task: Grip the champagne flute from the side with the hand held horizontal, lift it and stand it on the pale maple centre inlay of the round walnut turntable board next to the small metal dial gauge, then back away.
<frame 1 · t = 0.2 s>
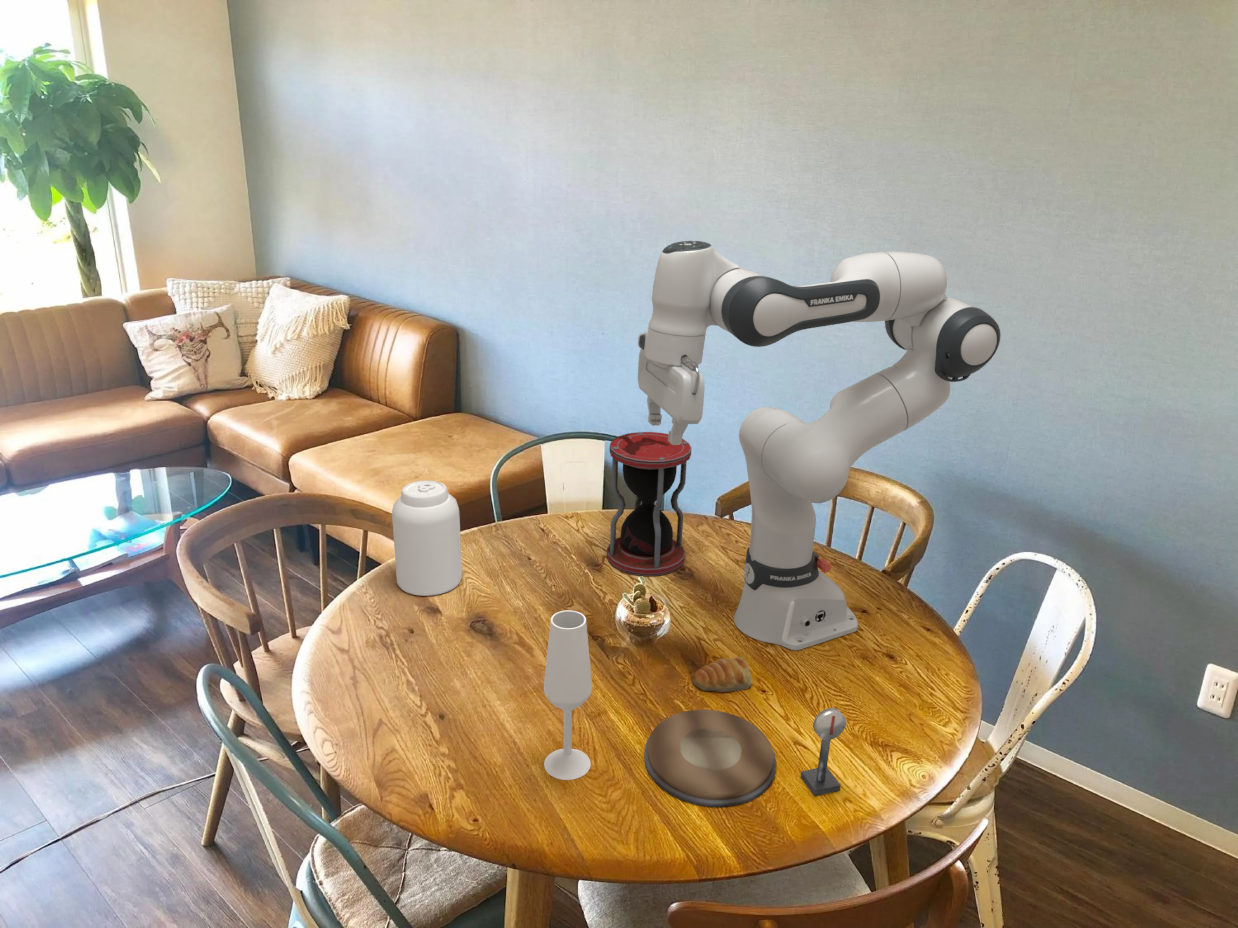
hand: (663, 433, 146), 39 cm above the table, tool pointing down, fingers open, 8 cm apart
dial gauge: (820, 783, 130), on the table
turntable: (709, 759, 134), on the table
champagne flute: (567, 764, 132), on the table
pastry: (724, 683, 151), on the table
hourglass: (645, 558, 191), on the table
can: (429, 582, 179), on the table
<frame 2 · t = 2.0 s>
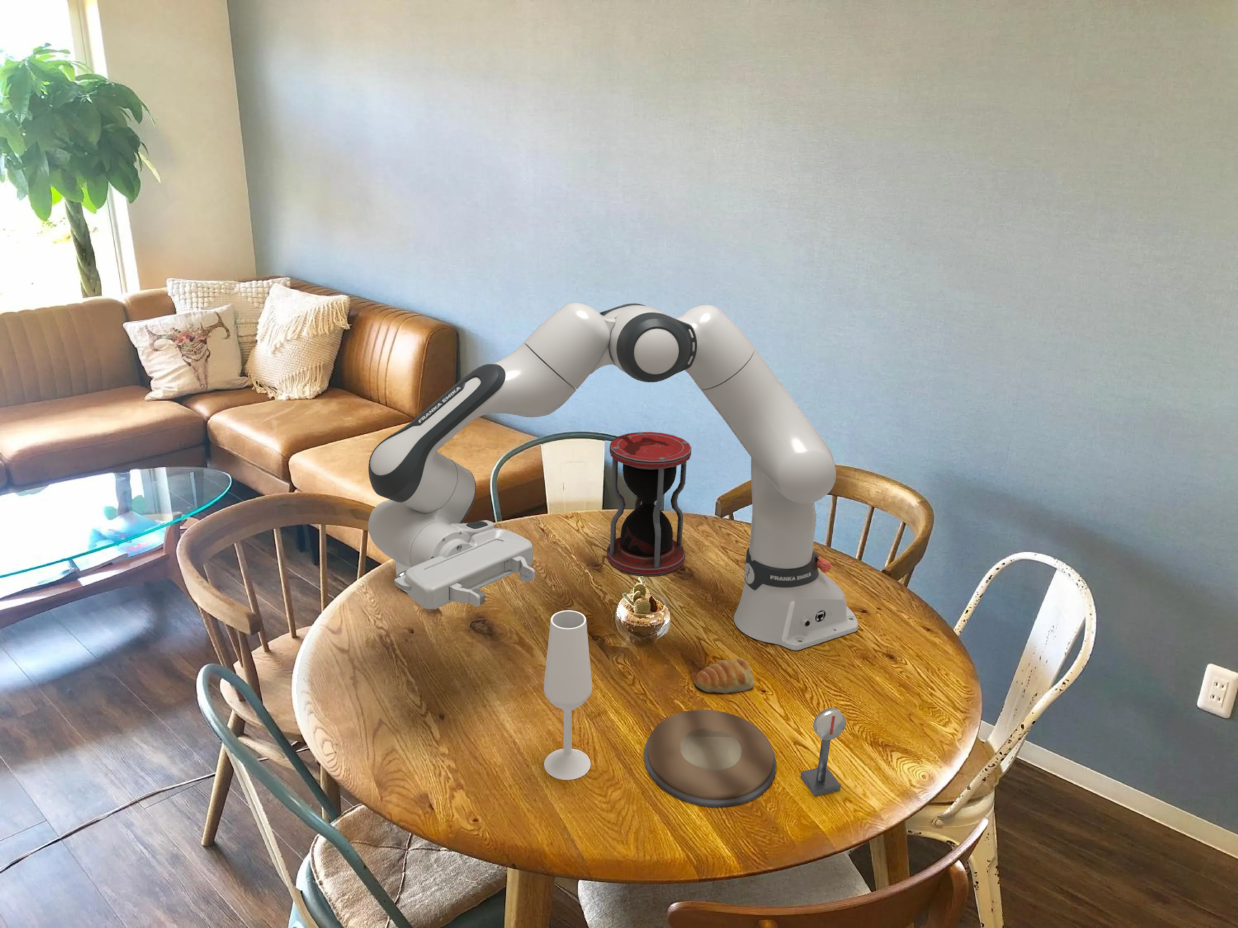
hand: (507, 588, 130), 24 cm above the table, tool horizontal, fingers open, 8 cm apart
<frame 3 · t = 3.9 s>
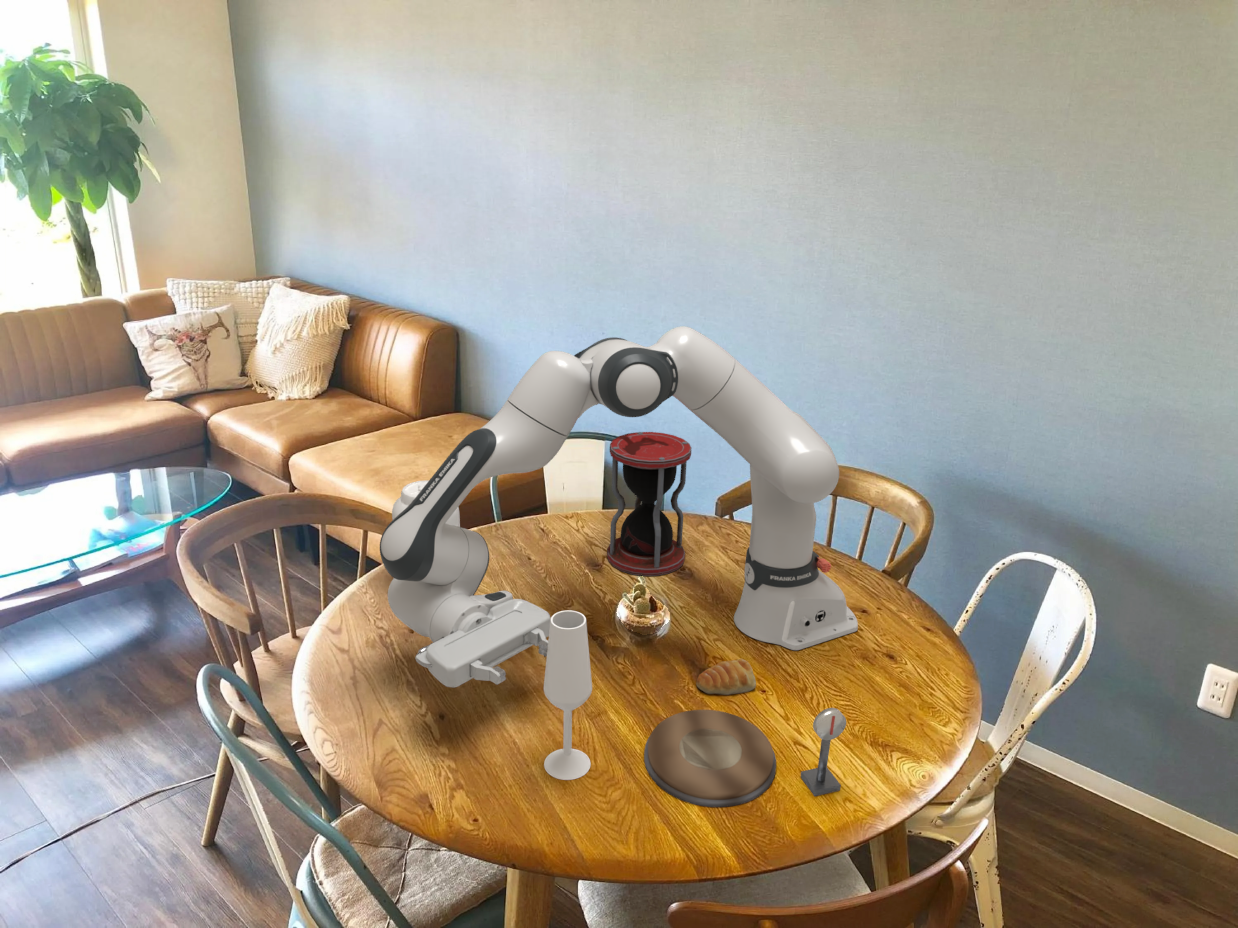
hand: (526, 664, 132), 13 cm above the table, tool horizontal, fingers open, 8 cm apart
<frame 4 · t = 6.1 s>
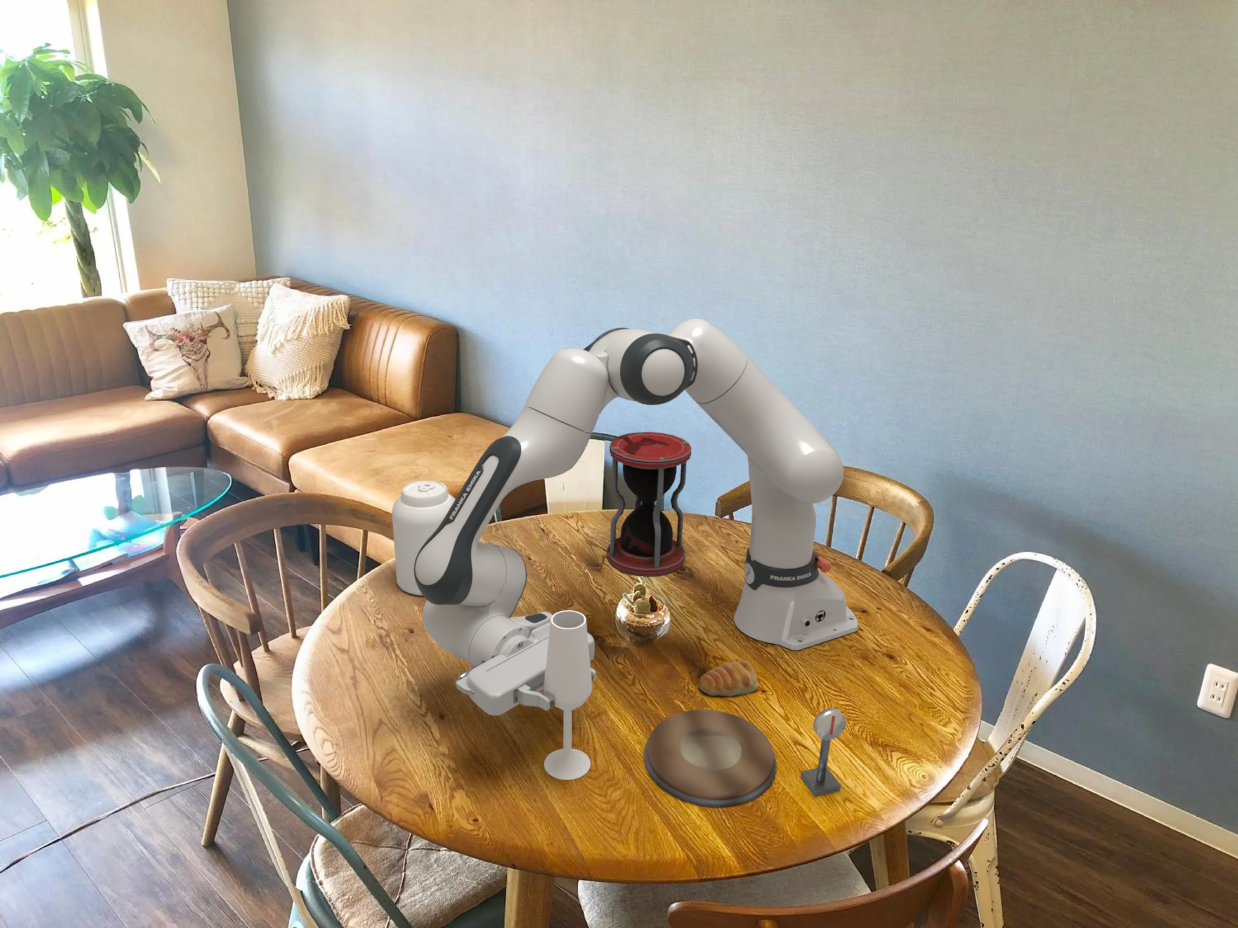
hand: (572, 690, 126), 13 cm above the table, tool horizontal, fingers closed on champagne flute, 7 cm apart
champagne flute: (567, 764, 132), on the table, touching gripper
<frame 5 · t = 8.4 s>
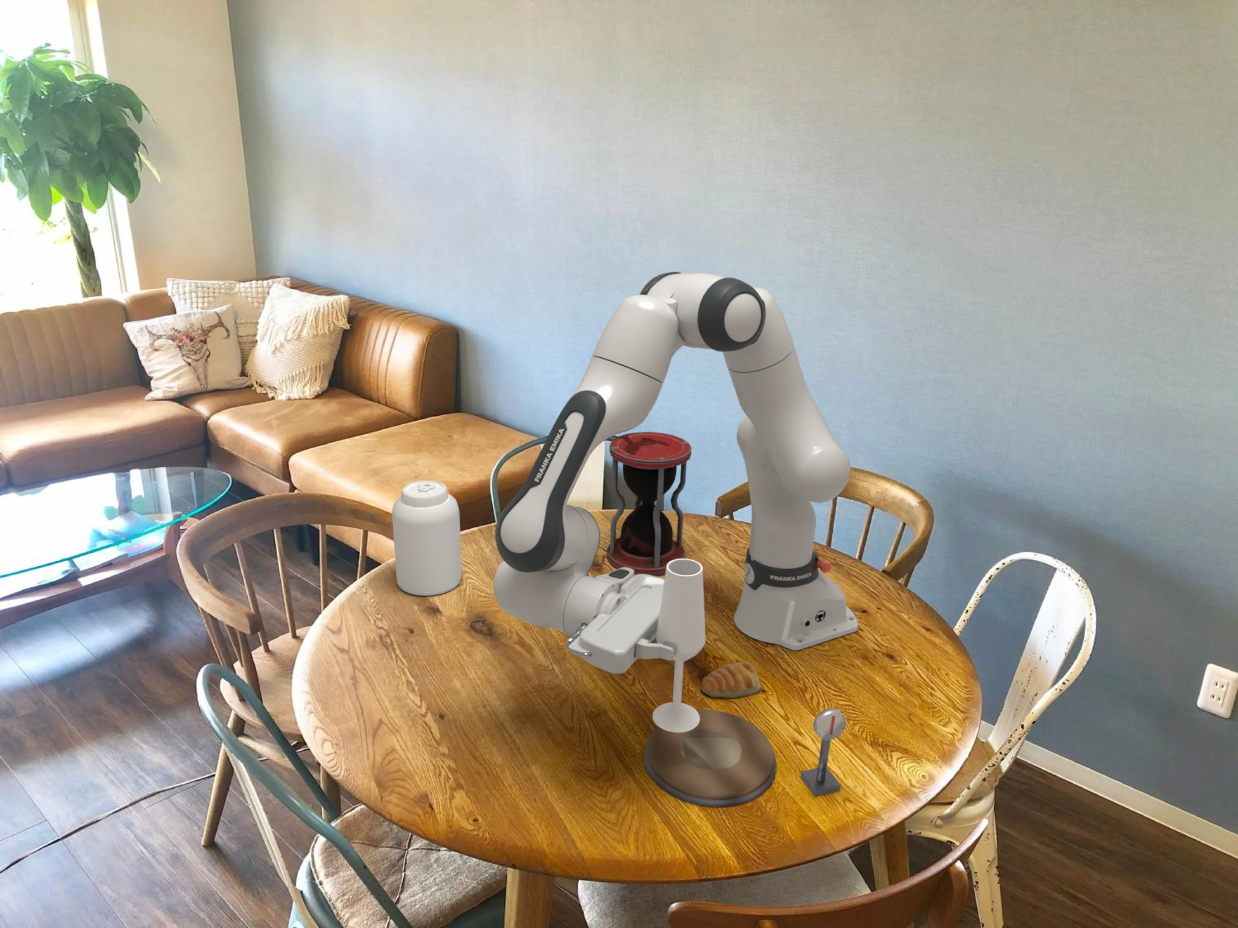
hand: (686, 637, 124), 21 cm above the table, tool horizontal, fingers closed on champagne flute, 7 cm apart
champagne flute: (676, 718, 130), point 8 cm above the table, touching gripper
when the fingers open (16 cm above the table, at t = 10.7 s): champagne flute stays where it is, resting on turntable.
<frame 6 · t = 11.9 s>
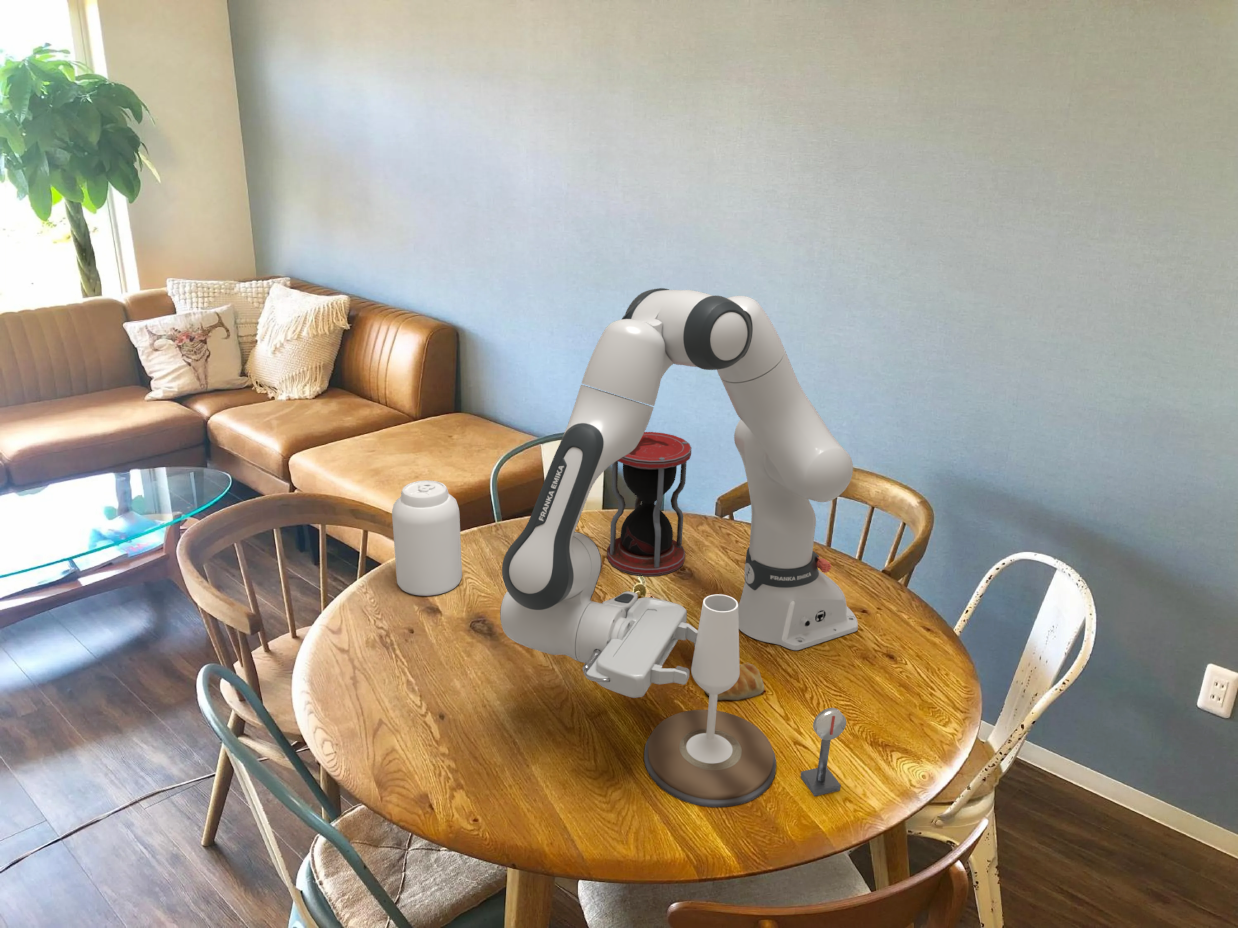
hand: (698, 658, 128), 17 cm above the table, tool horizontal, fingers open, 8 cm apart
champagne flute: (709, 748, 133), point 2 cm above the table, touching turntable
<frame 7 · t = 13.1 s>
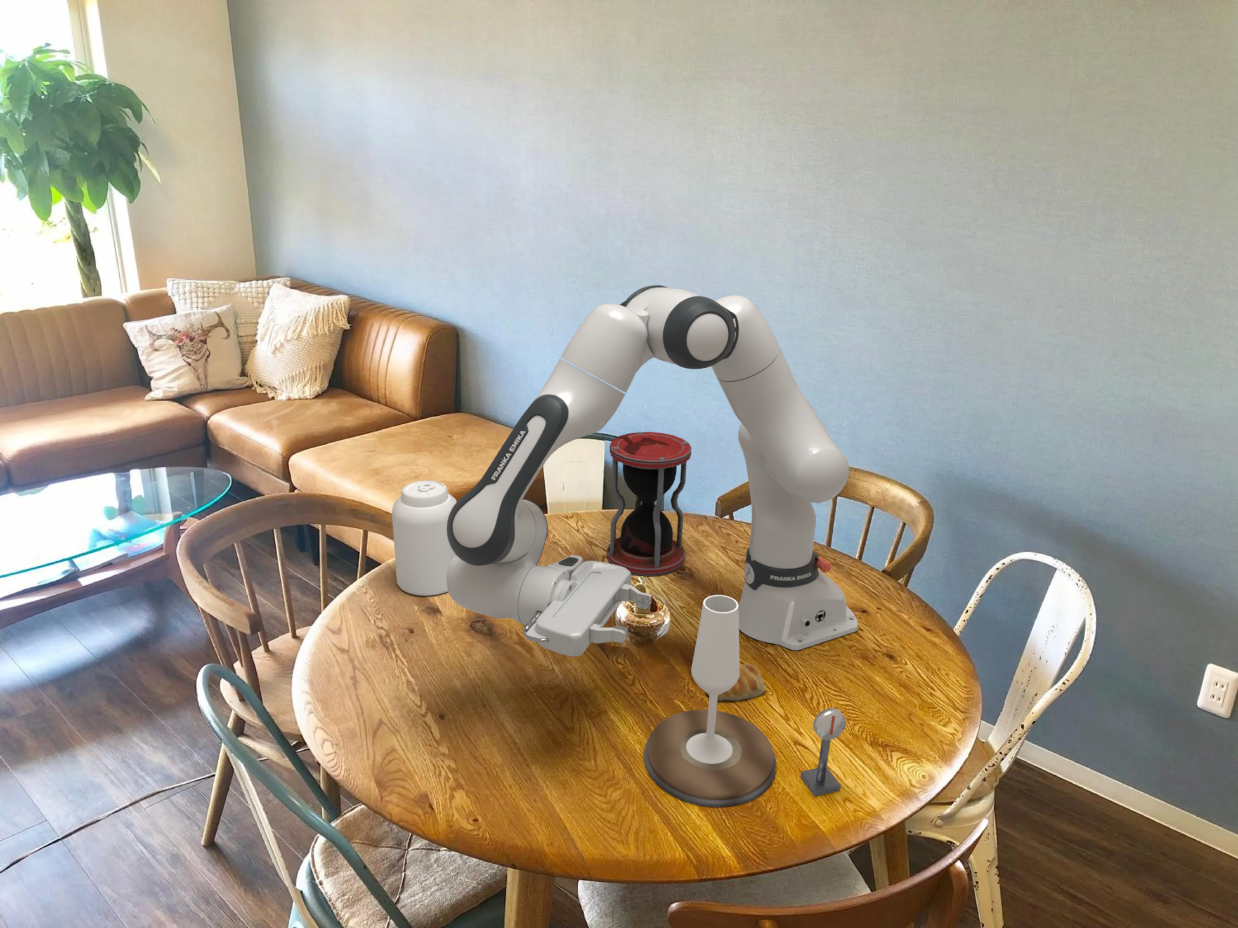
hand: (638, 618, 130), 21 cm above the table, tool horizontal, fingers open, 8 cm apart
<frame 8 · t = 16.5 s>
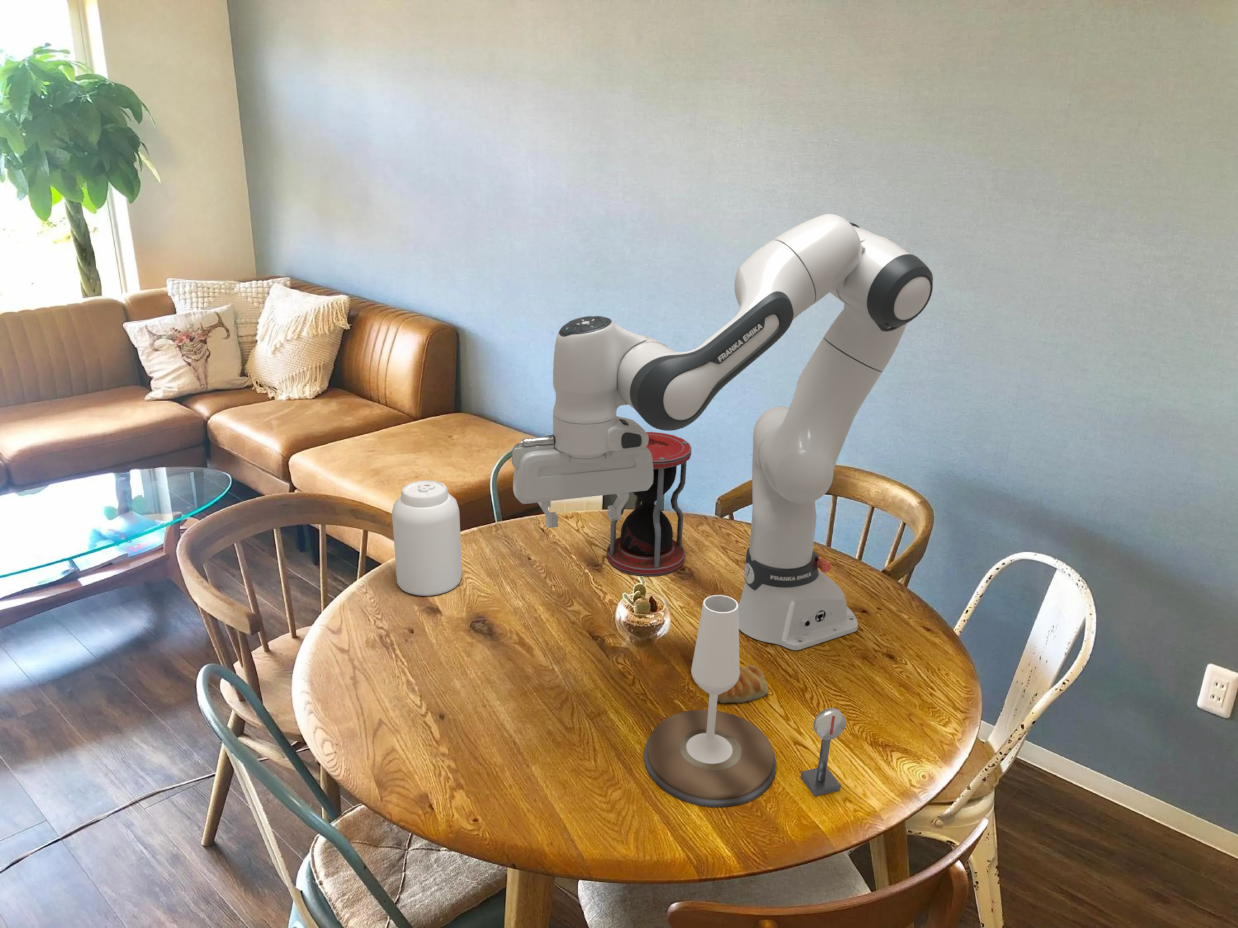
hand: (583, 522, 134), 31 cm above the table, tool pointing down, fingers open, 8 cm apart
at the end: champagne flute 0.2 cm from the turntable (horizontally); champagne flute tilted 0°; the gripper is holding nothing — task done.
